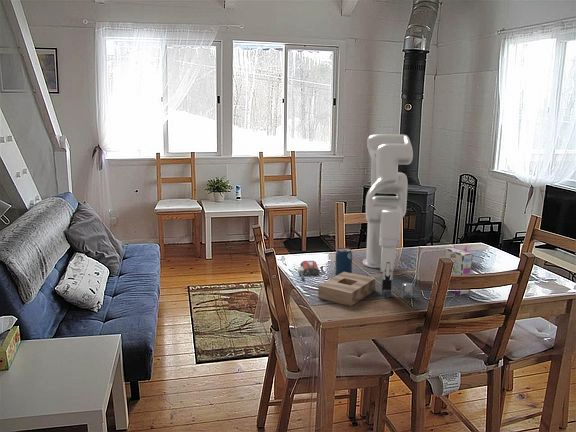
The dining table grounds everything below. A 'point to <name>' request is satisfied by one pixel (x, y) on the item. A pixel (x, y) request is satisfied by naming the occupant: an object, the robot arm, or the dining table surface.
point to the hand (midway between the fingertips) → (387, 286)
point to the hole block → (346, 288)
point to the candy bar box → (460, 263)
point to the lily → (466, 248)
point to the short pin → (407, 290)
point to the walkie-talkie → (308, 268)
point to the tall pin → (387, 292)
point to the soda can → (343, 261)
